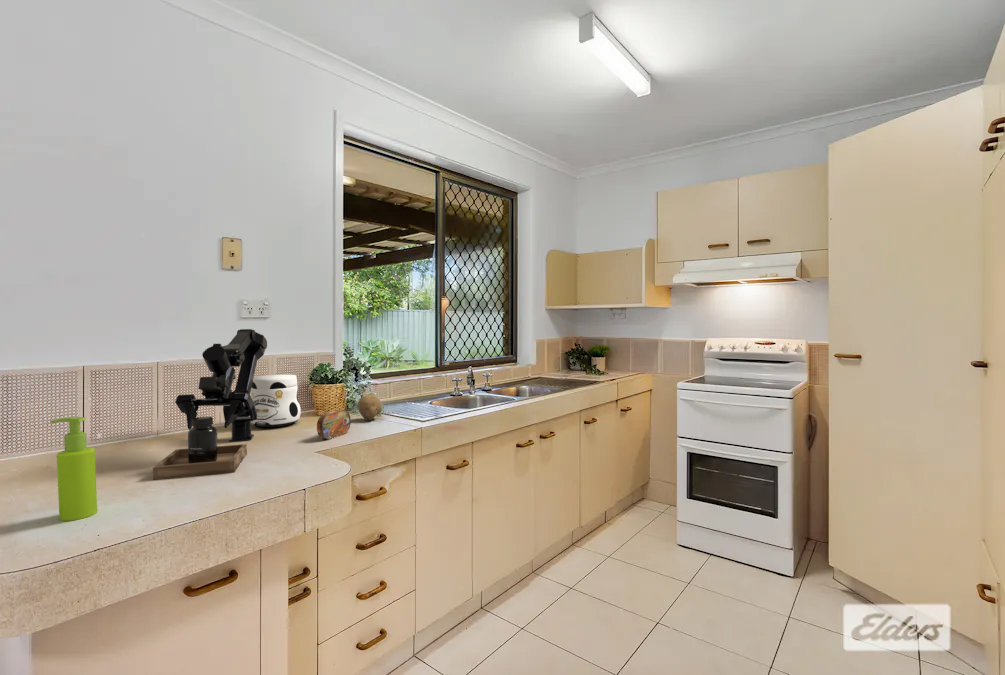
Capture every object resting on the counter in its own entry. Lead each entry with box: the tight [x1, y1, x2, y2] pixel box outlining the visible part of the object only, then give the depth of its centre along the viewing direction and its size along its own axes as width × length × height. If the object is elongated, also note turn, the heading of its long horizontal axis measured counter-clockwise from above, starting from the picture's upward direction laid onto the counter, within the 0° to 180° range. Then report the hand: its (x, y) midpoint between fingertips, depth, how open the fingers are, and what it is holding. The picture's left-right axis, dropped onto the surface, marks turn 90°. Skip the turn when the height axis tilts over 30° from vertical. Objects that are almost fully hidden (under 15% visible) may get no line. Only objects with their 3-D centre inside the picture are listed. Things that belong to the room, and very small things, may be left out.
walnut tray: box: [152, 443, 248, 481], centre depth 135 cm, size 18×18×3 cm
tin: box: [316, 409, 352, 440], centre depth 168 cm, size 15×3×8 cm, turn 161°
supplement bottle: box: [187, 416, 218, 464], centre depth 135 cm, size 7×7×12 cm
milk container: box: [251, 374, 301, 428], centre depth 186 cm, size 17×17×18 cm
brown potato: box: [357, 393, 383, 421], centre depth 194 cm, size 9×9×10 cm
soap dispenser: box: [49, 416, 98, 522], centre depth 101 cm, size 6×7×20 cm
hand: (207, 428), depth 137 cm, fingers open, 9 cm apart
